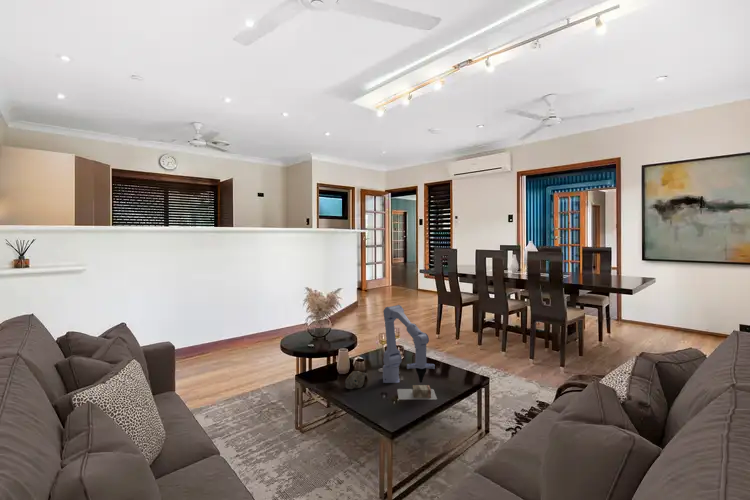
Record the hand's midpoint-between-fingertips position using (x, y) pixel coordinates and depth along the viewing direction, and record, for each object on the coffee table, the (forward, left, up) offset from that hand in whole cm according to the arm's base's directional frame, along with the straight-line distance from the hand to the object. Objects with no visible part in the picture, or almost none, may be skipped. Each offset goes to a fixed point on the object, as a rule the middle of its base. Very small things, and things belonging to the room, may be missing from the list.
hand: (420, 381), depth 191 cm
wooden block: (-4, 0, -5) cm, 7 cm away
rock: (-34, +11, -8) cm, 37 cm away
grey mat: (-2, +1, -8) cm, 8 cm away
